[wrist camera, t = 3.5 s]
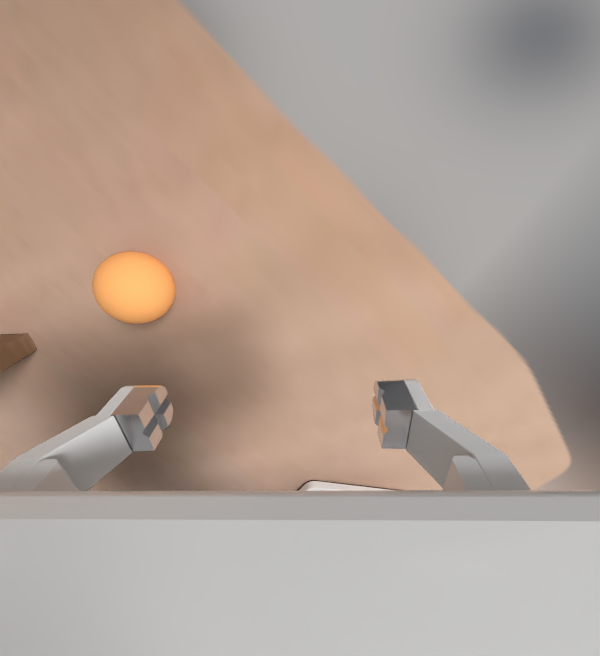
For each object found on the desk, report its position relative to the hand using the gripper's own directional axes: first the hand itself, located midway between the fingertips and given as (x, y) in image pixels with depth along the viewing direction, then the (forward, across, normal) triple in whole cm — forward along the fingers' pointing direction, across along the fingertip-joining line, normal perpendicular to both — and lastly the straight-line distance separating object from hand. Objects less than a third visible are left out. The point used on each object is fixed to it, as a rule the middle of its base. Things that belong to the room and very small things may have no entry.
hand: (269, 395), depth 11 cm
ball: (+14, +13, 0) cm, 19 cm away
